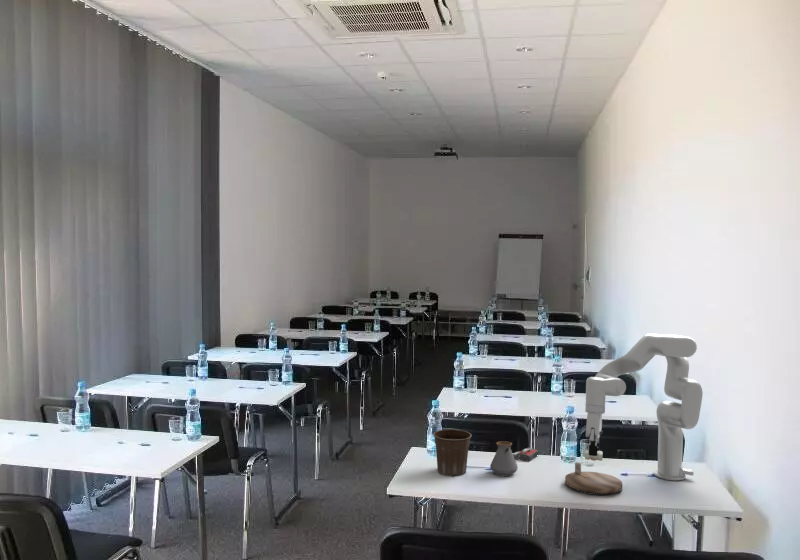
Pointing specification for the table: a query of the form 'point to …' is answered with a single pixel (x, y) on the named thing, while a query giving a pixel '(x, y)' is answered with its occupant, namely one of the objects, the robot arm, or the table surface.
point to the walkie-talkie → (526, 454)
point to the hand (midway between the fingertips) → (593, 453)
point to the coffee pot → (504, 460)
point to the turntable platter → (592, 481)
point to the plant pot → (452, 451)
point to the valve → (594, 458)
